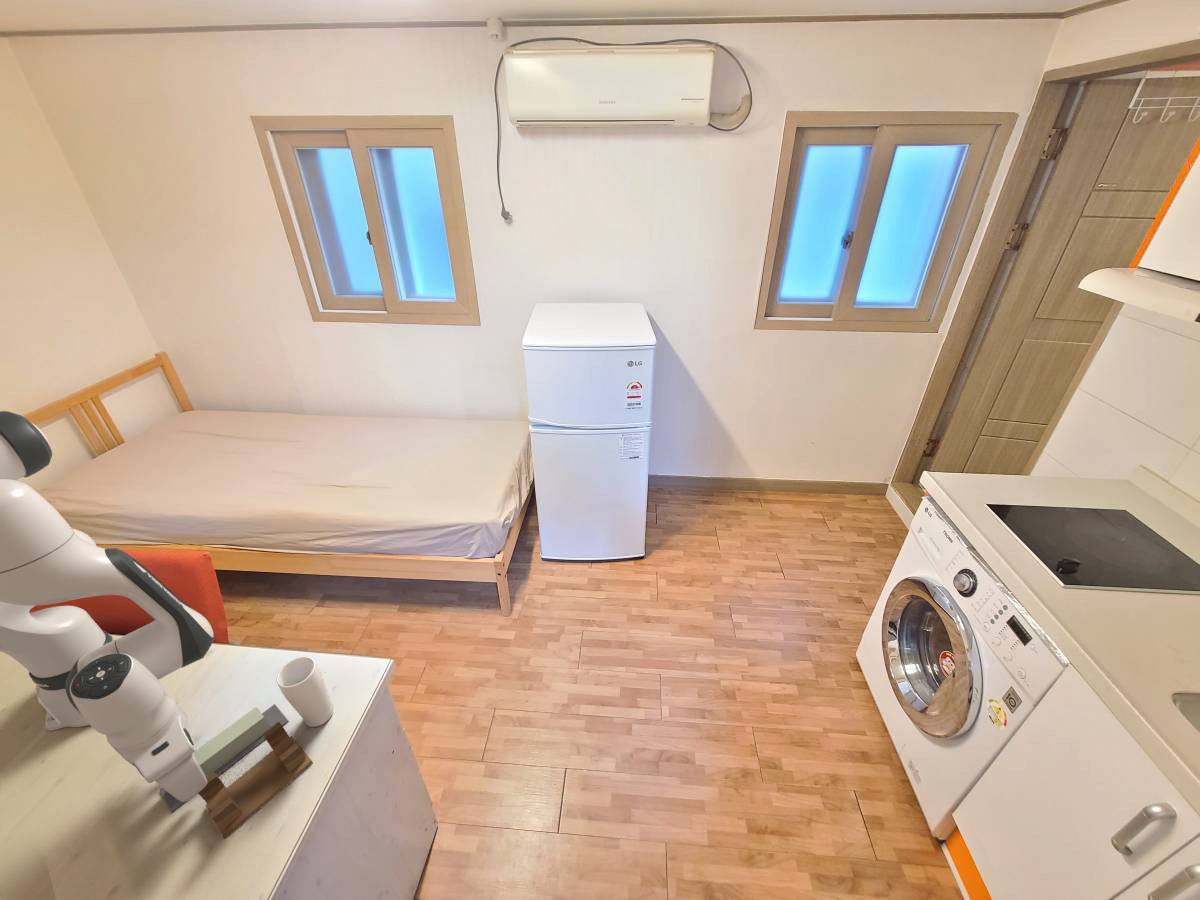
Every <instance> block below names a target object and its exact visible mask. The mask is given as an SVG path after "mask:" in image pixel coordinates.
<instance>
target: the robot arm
mask: <svg viewBox="0 0 1200 900" xmlns="http://www.w3.org/2000/svg"><path fill="white" fill-rule="evenodd" d="M52 458H53V450H52V449H51V446H50V442H49V439H48V438H47V436H46V434H45V432H44V431H42V430H41V428H39V426H37V425H36V424H34V423H33V422H31V421H30V420H29V419H27V417H25V416H23V415H21V414H17V413H15V412H11V411H6V410H3V411H2V410H0V652H1V653H4V654H6V655H8V656H10V657H11V659H14V660H15V661H17V663H19V664H20V665H21V666H22V667H23V668H24V669H26V670H27V671H28V676H29V677H30V678H31V681H33V683H34V684H35V690H36V692H37V693H36V699H37V701H38V703H39V704H40V705H41V706H42V707H43V708H44V709H45V710H46V711H45V713H46V714H45V723H44V727H45V728H46V730H47V731H52V732H53V731H55V730H58V729H59V730H60V729H63V728H72V727H73V728H81V727H85V726H90V727H92V729H93V730H95V731H96V732H97V733H99V734H101V735H105V736H106V742H107V743H108V744H109V745H110V746H111V748H113V750H115V752H116V753H118V754H119V755H120V756H121V757H122V759H124V760H125V761H126V762H127V763H129V764H130V765H132V766H134V767H135V768H136V770H137V771H138V773H139V774H140V776H142V778H143V779H144V780H145V781H146V782H147V783H148V784H153V783H154V782H156V784H157V785H159V786H160V788H163V789H164V790H166V791H167V792H168V793H169V794H171V795H172V796H174V797H175V798H176V799H178V800H179V801H181V802H185V801H187V802H188V801H189V800H190V799H191V800H192V798H194V797H195V796H196V795H197V794H198V793H199V792H200V791H201V790H202V789H203V788H205V787H206V785H207V779H206V777H205V774H204V773H203V771H202V769H201V767H200V765H199V763H198V761H197V759H196V757H195V755H194V752H195V751H196V747H195V744H194V742H193V740H192V736H191V734H190V729H189V727H190V726H189V723H188V722H189V716H188V715H187V713H186V712H185V711H184V709H182V707H181V706H180V705H179V703H178V702H177V701H176V700H175V698H173V696H172V695H170V694H167V693H165V692H166V691H165V687H164V685H163V684H162V683H161V681H160V680H161V679H163V678H164V677H167V676H168V675H170V674H172V673H174V672H175V671H177V670H179V669H181V668H185V667H187V666H190V665H192V664H194V663H196V662H198V661H200V660H202V659H204V657H206V655H207V653H208V651H209V650H210V648H211V647H212V645H213V642H214V640H215V634H214V630H213V628H212V625H211V623H210V622H209V621H208V619H207V618H206V617H204V615H202V614H201V613H199V612H198V611H196V610H195V609H194V608H192V607H191V606H189V605H188V604H187V603H185V601H183V600H182V599H181V598H180V597H178V596H177V594H175V593H174V592H173V591H172V590H171V589H170V588H169V587H168V586H166V585H165V584H164V583H163V582H162V581H161V580H160V579H158V577H156V575H154V574H153V573H152V572H151V571H150V570H149V569H148V568H146V567H145V566H144V565H143V564H142V563H140V562H139V561H138V560H137V559H136V558H135V557H133V556H132V555H130V554H129V553H127V552H126V551H124V550H122V549H119V548H118V547H115V548H113V547H112V548H111V547H110V548H103V547H100V546H97V544H96V542H95V540H94V539H93V538H92V537H91V536H90V535H88V534H87V533H85V532H83V531H81V530H78V529H76V528H72V527H71V526H70V524H69V523H68V521H66V519H65V518H64V517H63V516H62V515H61V514H60V512H59V511H58V510H57V509H56V508H55V507H54V505H52V504H51V503H50V502H49V501H48V500H46V498H44V497H43V495H42V494H40V493H39V492H38V491H36V490H35V489H34V488H33V487H31V486H30V485H29V484H27V483H25V482H22V481H20V480H19V479H22V478H29V477H31V476H32V475H35V474H37V473H38V472H40V471H42V470H44V469H45V468H46V467H48V466H49V465H50V463H51V460H52ZM113 595H114V596H121V597H125V598H129V599H130V600H131V601H133V602H134V603H135V604H136V605H138V606H139V607H140V608H141V609H142V610H143V611H145V612H146V613H147V614H149V616H150V617H151V618H153V619H154V620H153V621H151V622H150V623H148V624H146V625H143V626H142V627H139V628H137V629H135V630H133V631H132V632H129V633H127V634H125V635H122V636H121V637H119V638H117V639H116V638H114V637H113V636H112V635H111V634H110V633H109V632H107V631H106V630H104V629H102V628H101V627H100V626H99V625H98V624H97V623H96V622H95V620H94V619H93V618H92V617H91V615H90V614H89V613H88V612H87V611H86V610H85V609H83V608H81V607H78V606H74V605H58V606H51V607H47V608H43V609H40V610H35V611H31V610H32V609H33V608H34V607H35V606H45V605H47V606H48V605H52V604H53V605H55V604H58V603H59V604H60V603H64V602H68V601H73V600H78V599H83V598H91V597H99V596H113ZM30 611H31V612H30ZM185 803H186V802H185Z"/></svg>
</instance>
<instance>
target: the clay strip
mask: <svg viewBox="0 0 1200 900" xmlns="http://www.w3.org/2000/svg"><path fill="white" fill-rule="evenodd" d="M270 728H271V727H270V725H269V724H268V722H267V721H266V719H265V718H264V716H263V715H262V713H261V711H260V710H259V708H258V707H257V706H256V707H254V708H252V709H251V710H249V712H247V713H246V714H245V715H243V716H242V717H240V718H239V719H237V720H236V721H234V723H232V724H231V725H229V726H227V728H225V729H224V730H223V731H221V732H220V733H219V734H217V735H216V736H215V737H213V738H211V739H210V740H209V741H207V742H206V743H205V744H203V745H202V746H201V747H199V748H198V749H195V752H193V753H194V755H195V757H196V759H197V761H198V763H199V765H200V767H201V769H202V771H203V773H204V774H205V777H208V776H209V775H210V774H212V773H213V772H215V771H216V770H218V769H219V768H220V767H222V766H223V765H224V764H225V763H227V762H228V761H229V760H231V759H232V758H233V757H235V756H236V755H237V754H238V753H240V752H241V751H242V750H244V749H245V748H246V747H248V746H249V745H250V744H251V743H253V742H254V741H255V740H257V739H258V738H259V737H261V736H262V734H264V733H265V732H266V731H267V730H269V729H270ZM173 797H174V796H173ZM174 798H175V797H174ZM175 799H176V798H175ZM176 800H178V799H176Z"/></svg>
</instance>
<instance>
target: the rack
mask: <svg viewBox="0 0 1200 900" xmlns="http://www.w3.org/2000/svg"><path fill="white" fill-rule="evenodd" d="M262 735H263V736H264V738H265V739H266V740H265V741H266V742H267V743H268V745H269V746H270V747H271V748H272V751H271V752H269V753H268V754H266V756H264V757H263V758H262V759H261V760H259V761H258V762H257V763H256V764H255V765H253V766H252V767H250V769H248V770H247V771H246V772H244V773H243V774H242V775H241V776H239V777H238V778H237V779H236V780H235V781H233V782H232V783H231V784H230V785H228V786H227V787H226V785H225V784H224V782H223V781H222V779H221V778H220V777H219V776H217V775H216V774H215V773H214V772H213V773H212V774H210V775H209V776H208V777H206V779H207V785H206V787H205V788H203V789H202V790H201V791H200V792H199V793H198V794H199V796H200V797H201V798H202V799H203V800H204V802H205V803H206V804H205V805H204V806H205V808H206V809H207V811H208V814H209V816H210V818H211V820H212V821H213V822H214V823H215V825H216V827H217V829H218V831H219V832H220V834H221V835H222V837H223V839H227V838H228V837H229V836H230V835H232V833H234V832H235V831H236V830H237V829H238V828H239V827H241V826H242V825H243V824H244V823H246V821H248V820H249V819H250V818H251V817H252V816H254V814H255V813H257V812H258V811H259V810H260V809H261V808H262V807H264V806H265V805H266V804H267V803H268V802H269V801H271V800H272V799H273V798H274V797H275V796H277V794H279V793H280V792H281V791H282V790H283V789H285V788H286V787H287V786H288V785H290V783H291V782H293V781H294V780H295V779H296V778H297V777H299V776H300V775H301V773H303V772H304V771H305V770H306V769H308V767H310V766H312V764H313V760H312V759H311V758H310V756H309V755H308V754H307V753H306V752H305V750H304V749H303V747H302V746H301V745H300V743H299V742H298V741H297V740H296V739H295V737H294V736H293V735H291V736H289V734H288V732H287V731H286V729H285V728H284V726H282V725H281V723H280V722H278V723H276V724H275V725H274V726H273V727H271V728H270V729H269V730H267V731H266V732H265V733H264V734H262Z"/></svg>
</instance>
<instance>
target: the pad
mask: <svg viewBox="0 0 1200 900" xmlns="http://www.w3.org/2000/svg"><path fill="white" fill-rule="evenodd" d="M261 714H262V715H263V716H264V718H265V719H266V721H267V722H268V724H269V725H270V727H273V726H274V725H275V724H276V723H278V722H280V723H281V725H282V726H283V727H284V726H285V725H286V724H288V723H289V720H288V718H287V717H286V716H285V714H283V712H282V711H281V709H280V708H279V707H278V706H277V705H276V704H275V703H274V704H272V706H270V707H268V708H267V709H266V710H264V711H263V712H262V713H261ZM264 741H267V740H266V739H265V738H264V736H263V735H262V736H261V737H259V738H258V739H257V740H255V741H254V742H253V743H251V744H250V745H249V746H248V747H246V748H245V749H244V750H242V751H241V752H240V753H238V754H237V755H236V756H235V757H233V758H232V759H231V760H229V761H228V762H227V763H225V764H224V765H223V766H222V767H220V768H219V769H218V770H216V771H215V772H214V773H215V774H216V775H217V776H218V777H219V776H221V775H222V774H224V773H225V772H226V771H227V770H229V769H230V768H231V767H233V766H234V765H235V764H236V763H238V762H239V761H241V760H242V759H243V758H244V757H245V756H247V755H248V754H249V753H250V752H252V751H253V750H254V749H256V748H257V747H259V745H261V744H262V743H263V742H264ZM159 790H160V792H161V794H162V796H163V798H164V800H165V802H166V804H167V806H168V808H169V811H170V812H171V813H174V812H175V811H176V810H177V809H179V808H181V807H182V806H183V805H184V804H186V803H187V802H188V801H185V802H181V801H179V800H176V799H175V798H174V797H173V796H172V795H171V794H169V793H168V792H167V791H166V790H164V789H163V788H162V787H160V789H159Z"/></svg>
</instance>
